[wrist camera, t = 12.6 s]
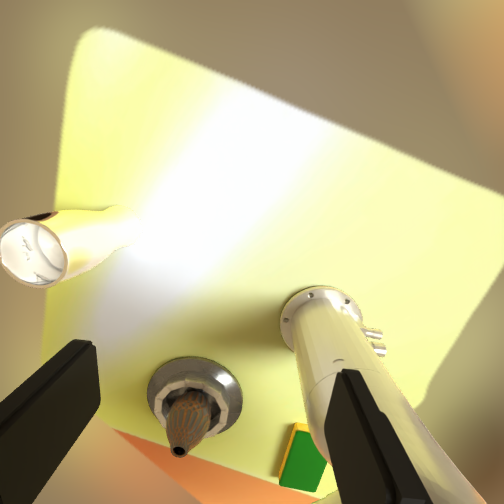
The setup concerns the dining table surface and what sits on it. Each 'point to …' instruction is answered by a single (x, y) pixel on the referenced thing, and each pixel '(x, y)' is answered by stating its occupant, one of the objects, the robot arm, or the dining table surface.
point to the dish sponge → (301, 461)
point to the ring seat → (196, 379)
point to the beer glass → (64, 243)
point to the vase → (187, 422)
